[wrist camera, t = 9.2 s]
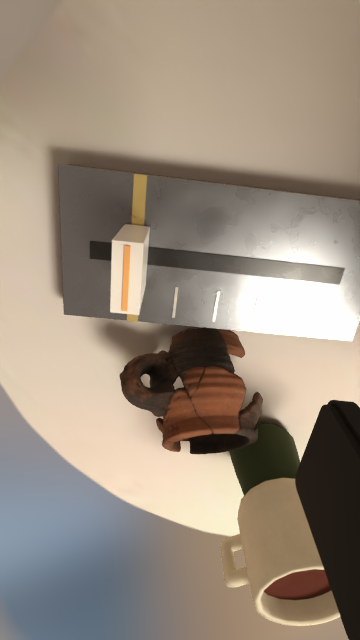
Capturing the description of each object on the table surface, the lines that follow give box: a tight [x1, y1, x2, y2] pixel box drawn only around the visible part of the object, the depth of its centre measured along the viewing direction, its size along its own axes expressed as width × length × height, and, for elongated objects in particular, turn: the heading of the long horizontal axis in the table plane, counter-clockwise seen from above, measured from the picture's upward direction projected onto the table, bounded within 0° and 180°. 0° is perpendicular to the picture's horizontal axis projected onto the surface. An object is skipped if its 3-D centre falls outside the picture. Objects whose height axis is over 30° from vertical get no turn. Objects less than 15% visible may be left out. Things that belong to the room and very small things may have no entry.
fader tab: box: [110, 224, 150, 315], centre depth 20 cm, size 2×4×5 cm, turn 174°
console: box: [58, 164, 360, 341], centre depth 24 cm, size 22×10×2 cm, turn 84°
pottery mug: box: [120, 328, 263, 454], centre depth 27 cm, size 12×9×8 cm
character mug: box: [221, 423, 340, 626], centre depth 27 cm, size 11×7×13 cm, turn 116°
